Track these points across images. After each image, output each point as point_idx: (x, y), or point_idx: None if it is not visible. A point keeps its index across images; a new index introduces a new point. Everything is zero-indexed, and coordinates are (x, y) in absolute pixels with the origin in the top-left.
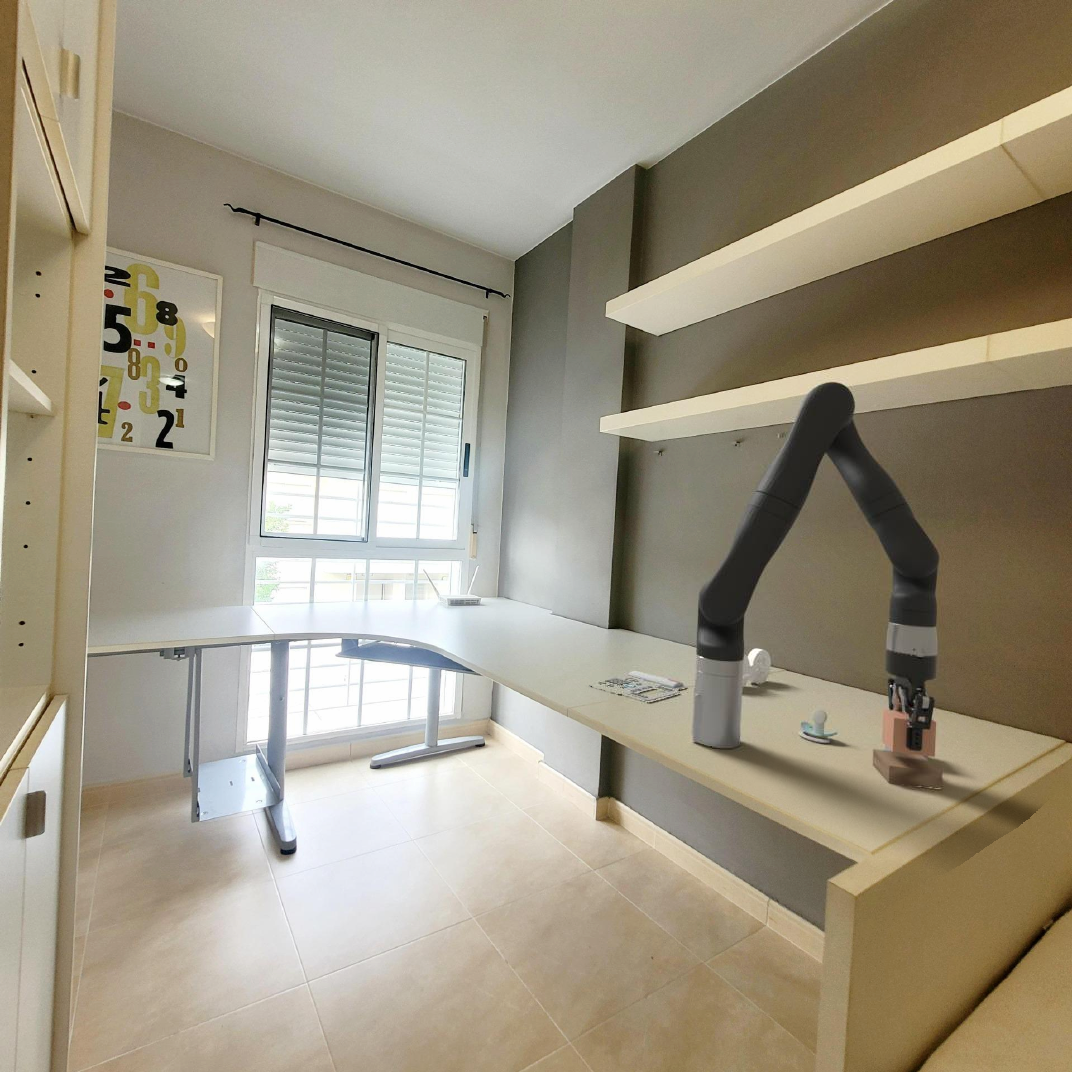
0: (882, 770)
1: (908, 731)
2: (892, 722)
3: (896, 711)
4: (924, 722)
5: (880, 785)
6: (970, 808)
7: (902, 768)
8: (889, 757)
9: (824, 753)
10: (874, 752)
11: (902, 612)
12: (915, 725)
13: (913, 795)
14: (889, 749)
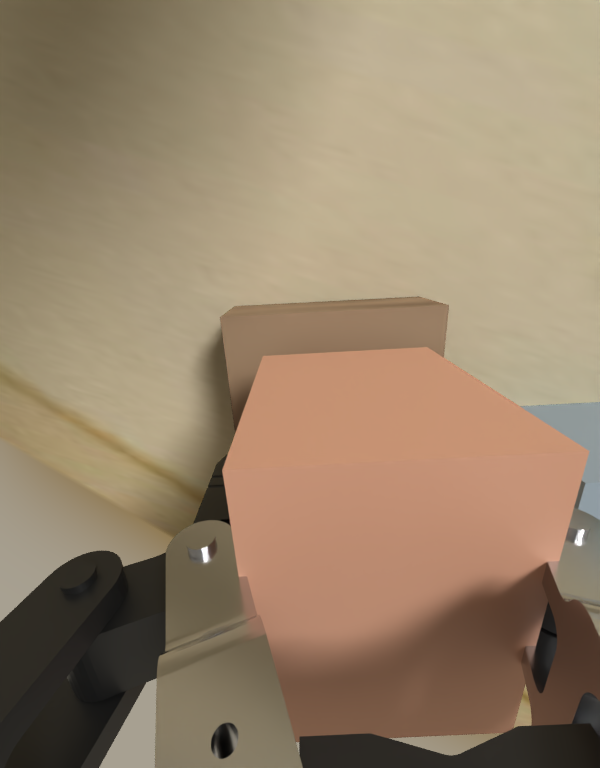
0: (304, 305)
1: (225, 502)
2: (272, 433)
3: (527, 563)
4: (77, 689)
5: (191, 264)
6: (143, 493)
7: (228, 370)
8: (343, 351)
9: (517, 75)
10: (425, 305)
11: None
12: (42, 591)
13: (154, 361)
14: (586, 410)
